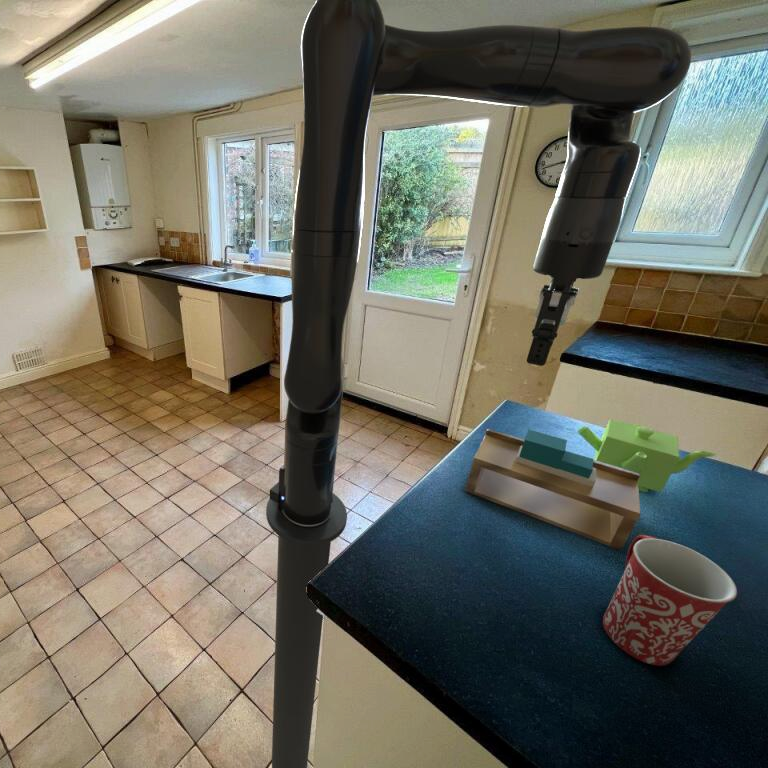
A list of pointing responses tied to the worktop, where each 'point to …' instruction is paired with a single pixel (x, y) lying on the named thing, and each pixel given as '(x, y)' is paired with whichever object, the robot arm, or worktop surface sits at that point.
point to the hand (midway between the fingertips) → (539, 354)
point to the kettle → (641, 452)
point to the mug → (664, 599)
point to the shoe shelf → (557, 492)
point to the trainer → (555, 458)
